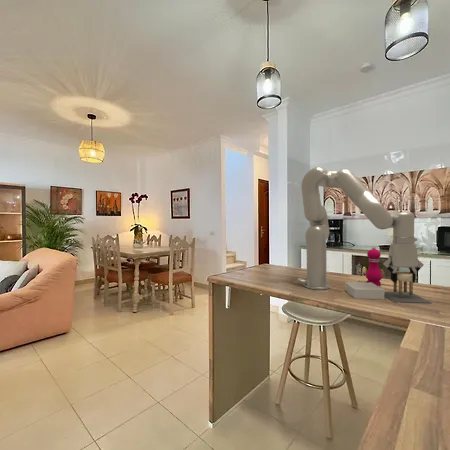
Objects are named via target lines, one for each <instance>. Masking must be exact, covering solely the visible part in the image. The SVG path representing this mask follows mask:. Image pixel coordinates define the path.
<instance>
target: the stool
mask: <svg viewBox="0 0 450 450" xmlns="http://www.w3.org/2000/svg"><path fill="white" fill-rule="evenodd" d="M396 273H397V282H396V283H395V282H393V286H392V287H393V291H392V292H399V295H402V292H409V295H413V294H414V293H413V292H414V287H413V286H414V283H413V281H412V275H413V274H412V273H410V272H409V271H404V270H403V271H401V270H398V271H396ZM397 284H398V285H397ZM408 284H409V285H408ZM408 287H409V288H408ZM408 289H409V290H408Z"/></svg>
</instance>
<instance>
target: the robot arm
mask: <svg viewBox="0 0 450 450" xmlns="http://www.w3.org/2000/svg"><path fill="white" fill-rule="evenodd" d="M301 181H302V182H301V186H300V187H301V195H302V204H303V214H304V217H305V219H306V220H307V221H309V227H308V228H307V229H306V232H305V236H304V238H305V245H306V247H305V248H306V275H305V276H304V277H297V278H296V281H297V283H300V284H301V283H303V287H305V288H307V289H309V290H310V289H311V290H319V291H321V290H322V291H323V290H328V289H330V288H331V286H330V284H329V283H327V279H328V278H327V240H328V239H329V236H330V226H329V220H328V219H329V217H328V212H327V210H326V208H325V206H324V205H322V201H321V194H320V193H321V192H320V189H319V188H320V187H323V188H332V189H334V188H335V189H340V190H341V191H342V192H343V194H345V196H346V197H348V199H349V200H350V201H351V202H352V204H354V206H355V207H357V209H358V210H360V211H361V212H362V213H363V214H364V216H365V217H366V218H367V219H368V220H369V221H370V223H372V225H373V226H374V227H375V228H376V229H378V230H387V229H392V243H390V245H389V250H388V257H387V260H385V261H384V262H383V266H384V267H385V268H386V269H387V270H388V271H389V272H390V280H391V281H392V282H393V283H394V282H395V283H396V282H397V283H398V280H397V273H396V271H397V270H398V268H408V270H409V271H410V273H412V274H413V275H412V281H413V284H415V282H416V274H418V272H419V271H420V270H421V269H422V268H423V266H424V263H422V261H420V259H419V254H418V249H417V245H416V244H415V242H418V238H417V237H415V214H414V213H413V212H410V211H407V212H394V213H393V212H389V211H387V209H386V208H385V207H384V206H383V205H382V203H380V202H379V200H378V199H377V198H375V196H374V195H373V193H372V192H371V191H370V190H369V189H368V187H366V185H365V184H364V183H363V182H362V181H361V180H360V179H359V178H358V176H357V175H355V174H354V173H353V171H351V170H350V169H347V168H343V169H339V170H338V171H333V170H326V169H325V168H324V167H320V166H315V167H313V168H311V169H309V170H308V171H307V172H306V173H305V174H304V177H303V178H302V180H301Z"/></svg>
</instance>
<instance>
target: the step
mask: <svg viewBox="0 0 450 450" xmlns="http://www.w3.org/2000/svg"><path fill="white" fill-rule="evenodd" d="M344 288H345V289H344V290H345V292H346V291H347V292H346V293H348V294H349V295H350V296H351V297H353V299H360V300H361V299H365V300H366V299H367V300H385V296H384V292H385V289H384V288H382V287H380V286H377V285H375V284H373V283H367V282H359V281H358V282H355V281H354V282H352V281H351V282H349V281H346V282H345V285H344Z"/></svg>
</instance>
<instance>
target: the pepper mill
mask: <svg viewBox="0 0 450 450" xmlns="http://www.w3.org/2000/svg"><path fill="white" fill-rule="evenodd" d="M366 256H367V257H368V268H367V271H366V273H365V278H366V279H367V280H366V283H373V284H375V285H377V286H378V287H380V285H382V284H381V283H382V282H381V280H382V278H383V276H382V275H383V274H382V273H381V272H382V271H381V270H380V268H379V267H380V266H379V262H380V258H381V252H380V251H379V250H378V249H377V248H376V246H372V247H371V249H369V250H367V253H366Z"/></svg>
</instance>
